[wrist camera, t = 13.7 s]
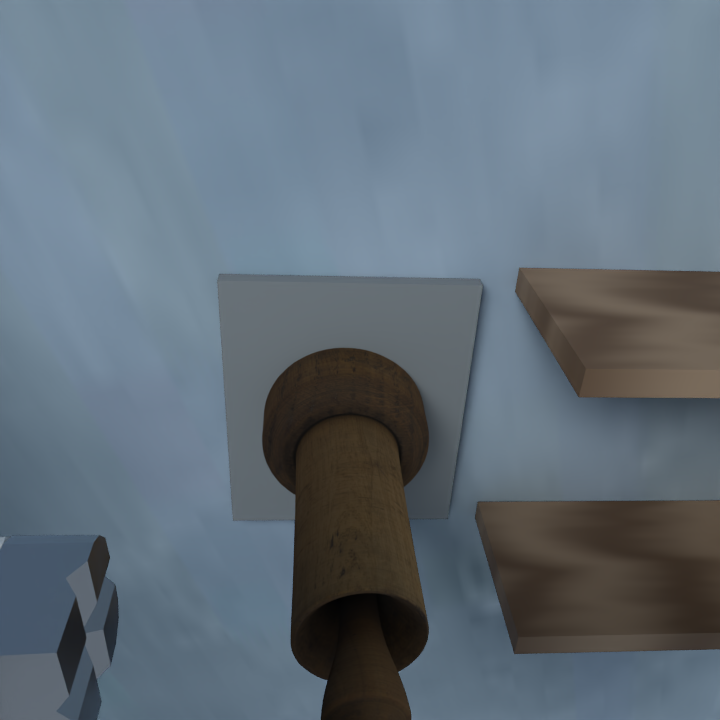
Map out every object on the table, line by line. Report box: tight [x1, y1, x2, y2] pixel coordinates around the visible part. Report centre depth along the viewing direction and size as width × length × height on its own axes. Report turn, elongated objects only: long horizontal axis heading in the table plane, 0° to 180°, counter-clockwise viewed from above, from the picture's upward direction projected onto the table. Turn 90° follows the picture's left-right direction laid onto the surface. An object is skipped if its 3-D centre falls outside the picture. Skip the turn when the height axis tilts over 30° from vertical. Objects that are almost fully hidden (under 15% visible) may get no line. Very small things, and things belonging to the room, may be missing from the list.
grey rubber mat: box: [217, 274, 483, 521], centre depth 29 cm, size 10×12×1 cm
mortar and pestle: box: [262, 348, 429, 720], centre depth 21 cm, size 7×6×18 cm
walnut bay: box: [475, 268, 720, 654], centre depth 27 cm, size 15×13×8 cm
